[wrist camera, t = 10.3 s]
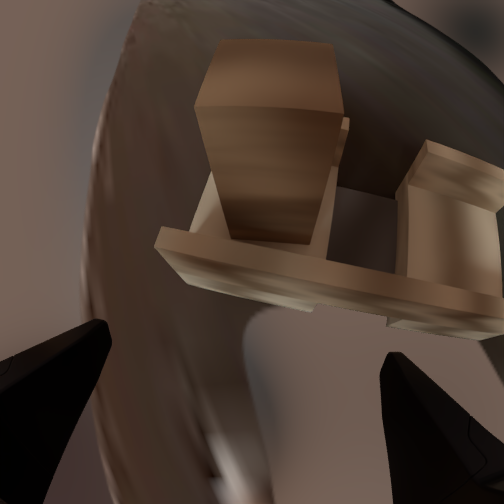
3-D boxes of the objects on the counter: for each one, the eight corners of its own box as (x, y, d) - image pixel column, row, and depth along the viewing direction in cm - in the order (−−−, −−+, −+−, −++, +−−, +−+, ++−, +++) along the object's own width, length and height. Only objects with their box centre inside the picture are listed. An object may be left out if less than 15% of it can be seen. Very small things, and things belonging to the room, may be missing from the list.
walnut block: (309, 245, 19) (344, 113, 9) (230, 238, 20) (193, 106, 9) (311, 180, 21) (332, 44, 11) (240, 175, 21) (220, 39, 11)
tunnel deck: (476, 217, 22) (517, 176, 16) (479, 340, 18) (536, 323, 12) (229, 159, 26) (218, 98, 19) (187, 284, 22) (153, 246, 15)
